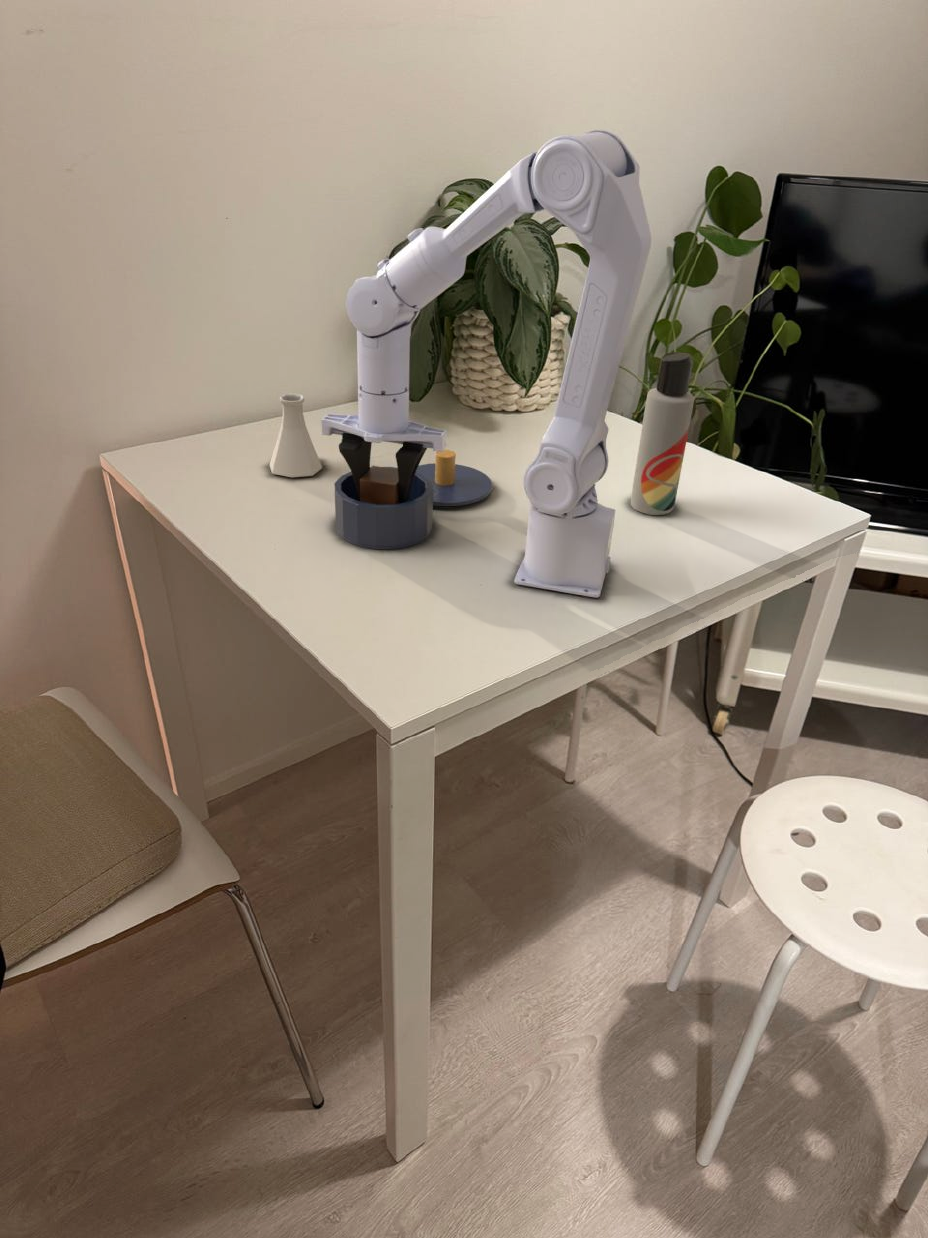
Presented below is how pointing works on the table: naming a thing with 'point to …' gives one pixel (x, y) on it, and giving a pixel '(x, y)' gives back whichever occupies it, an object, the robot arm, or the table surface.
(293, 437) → the flask
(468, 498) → the lid
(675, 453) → the lotion bottle
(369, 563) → the table surface
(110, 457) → the table surface
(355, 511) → the tin
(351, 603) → the table surface
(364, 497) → the block
